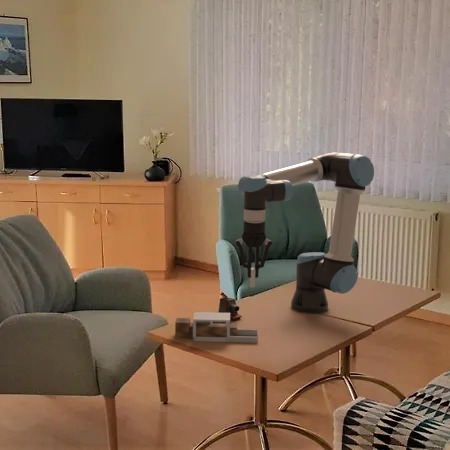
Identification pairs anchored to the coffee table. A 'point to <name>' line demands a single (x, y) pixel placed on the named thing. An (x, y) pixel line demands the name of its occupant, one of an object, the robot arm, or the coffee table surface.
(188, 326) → the block
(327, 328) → the coffee table surface
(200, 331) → the rod
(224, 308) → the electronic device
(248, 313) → the coffee table surface
